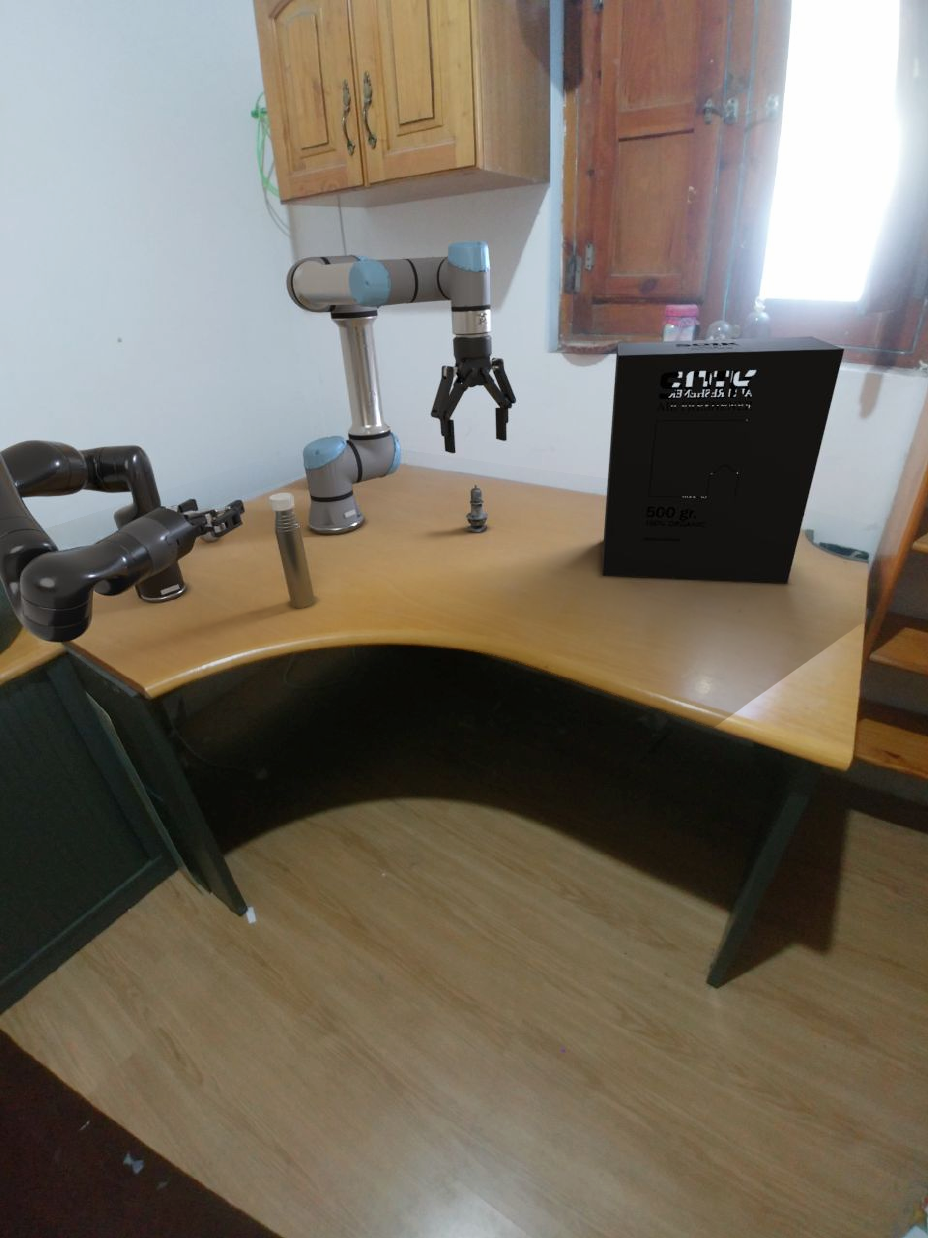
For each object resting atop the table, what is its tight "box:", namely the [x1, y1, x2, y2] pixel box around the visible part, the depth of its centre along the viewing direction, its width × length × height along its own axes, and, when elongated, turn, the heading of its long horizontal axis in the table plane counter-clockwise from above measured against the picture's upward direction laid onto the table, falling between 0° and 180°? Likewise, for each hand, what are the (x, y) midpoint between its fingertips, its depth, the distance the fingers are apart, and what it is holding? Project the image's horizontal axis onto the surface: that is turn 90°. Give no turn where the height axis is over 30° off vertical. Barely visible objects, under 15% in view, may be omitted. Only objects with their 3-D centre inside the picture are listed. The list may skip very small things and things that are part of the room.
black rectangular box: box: [602, 336, 845, 585], centre depth 127 cm, size 38×20×45 cm, turn 78°
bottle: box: [273, 508, 316, 609], centre depth 124 cm, size 5×5×23 cm
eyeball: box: [199, 518, 219, 543], centre depth 162 cm, size 6×6×6 cm
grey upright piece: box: [465, 484, 489, 533], centre depth 159 cm, size 6×6×12 cm
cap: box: [268, 492, 295, 512], centre depth 119 cm, size 4×4×2 cm
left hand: (218, 504), depth 98 cm, fingers open, 8 cm apart
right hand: (476, 445), depth 127 cm, fingers open, 13 cm apart
